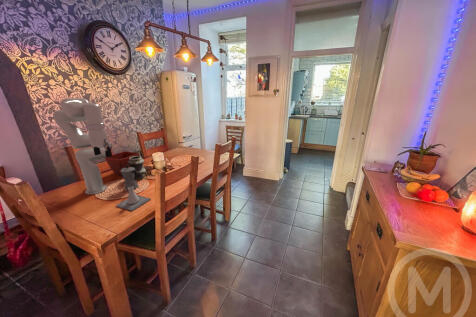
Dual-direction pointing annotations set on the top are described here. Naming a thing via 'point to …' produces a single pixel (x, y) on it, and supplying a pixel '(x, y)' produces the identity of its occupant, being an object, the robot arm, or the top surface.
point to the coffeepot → (129, 177)
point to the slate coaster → (133, 206)
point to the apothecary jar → (137, 166)
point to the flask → (132, 196)
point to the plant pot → (120, 161)
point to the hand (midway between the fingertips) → (103, 155)
